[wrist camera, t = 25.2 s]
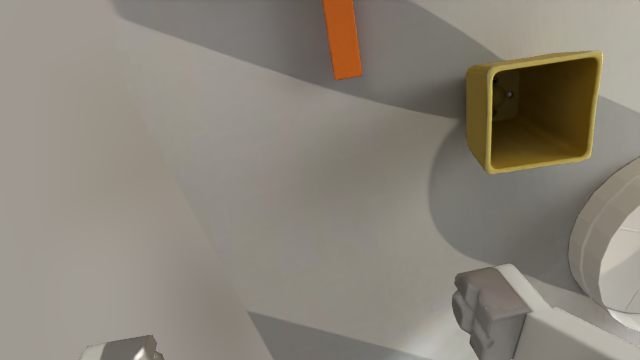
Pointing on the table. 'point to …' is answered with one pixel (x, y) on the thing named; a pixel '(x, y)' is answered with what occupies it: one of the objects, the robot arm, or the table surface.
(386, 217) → the table surface
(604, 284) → the dish
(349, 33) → the orange ring
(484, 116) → the flower pot
